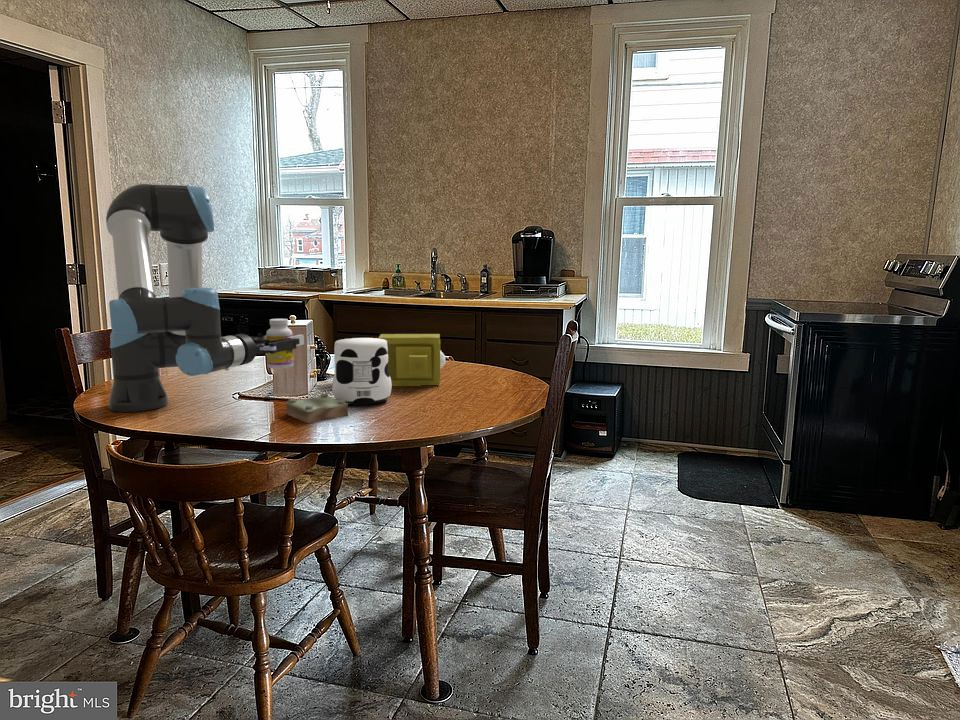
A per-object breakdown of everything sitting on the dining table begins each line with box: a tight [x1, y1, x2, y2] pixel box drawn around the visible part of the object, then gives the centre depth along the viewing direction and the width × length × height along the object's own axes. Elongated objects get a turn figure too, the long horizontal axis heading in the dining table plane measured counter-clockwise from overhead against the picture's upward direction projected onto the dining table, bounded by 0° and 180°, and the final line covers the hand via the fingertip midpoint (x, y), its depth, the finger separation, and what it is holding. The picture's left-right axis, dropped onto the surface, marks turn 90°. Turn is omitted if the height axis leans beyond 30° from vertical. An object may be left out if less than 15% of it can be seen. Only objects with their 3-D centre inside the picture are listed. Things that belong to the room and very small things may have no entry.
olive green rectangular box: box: [378, 333, 446, 387], centre depth 223 cm, size 35×16×16 cm
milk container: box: [331, 337, 393, 405], centre depth 200 cm, size 17×17×18 cm
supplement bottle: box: [265, 318, 294, 370], centre depth 181 cm, size 7×7×13 cm
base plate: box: [286, 393, 349, 424], centre depth 185 cm, size 12×12×4 cm
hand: (291, 338), depth 185 cm, fingers closed on supplement bottle, 7 cm apart
